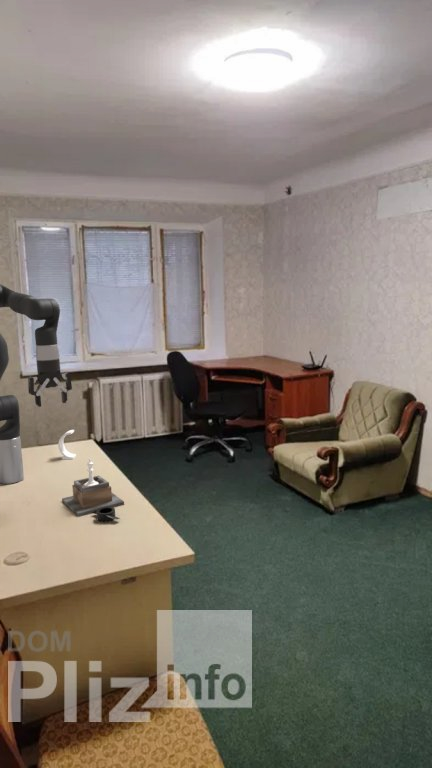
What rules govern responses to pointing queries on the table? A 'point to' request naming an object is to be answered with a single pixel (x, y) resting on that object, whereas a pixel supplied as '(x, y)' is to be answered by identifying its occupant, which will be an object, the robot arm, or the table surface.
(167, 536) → the table surface
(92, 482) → the chess piece
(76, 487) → the pedestal
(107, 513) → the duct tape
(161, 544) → the table surface
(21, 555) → the table surface
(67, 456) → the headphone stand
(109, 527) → the table surface
